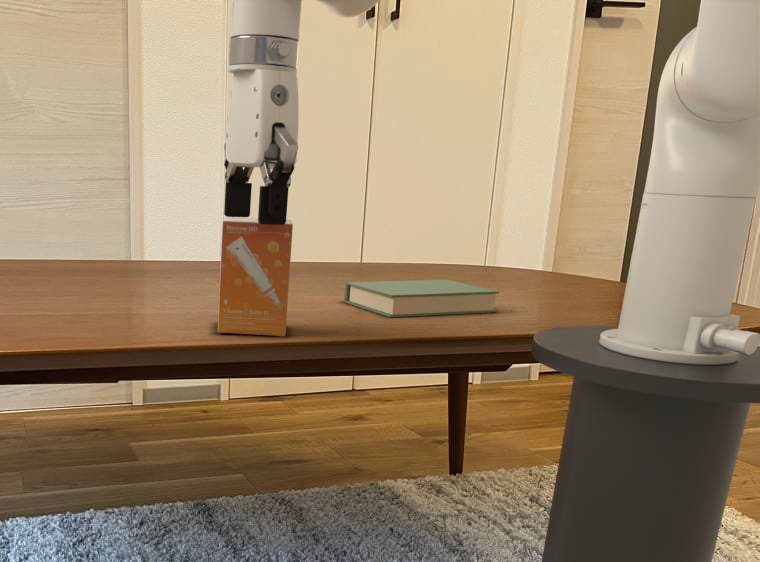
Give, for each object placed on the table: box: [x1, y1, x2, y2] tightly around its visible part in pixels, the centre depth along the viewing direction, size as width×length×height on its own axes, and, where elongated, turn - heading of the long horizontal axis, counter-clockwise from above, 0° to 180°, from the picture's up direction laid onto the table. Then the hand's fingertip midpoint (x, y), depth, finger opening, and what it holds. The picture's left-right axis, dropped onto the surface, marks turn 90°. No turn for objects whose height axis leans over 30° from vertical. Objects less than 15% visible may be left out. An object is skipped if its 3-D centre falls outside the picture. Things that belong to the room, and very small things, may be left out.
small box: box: [217, 216, 294, 337], centre depth 91 cm, size 8×6×13 cm
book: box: [343, 278, 500, 318], centre depth 113 cm, size 12×18×3 cm, turn 112°
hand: (253, 220), depth 90 cm, fingers open, 9 cm apart
